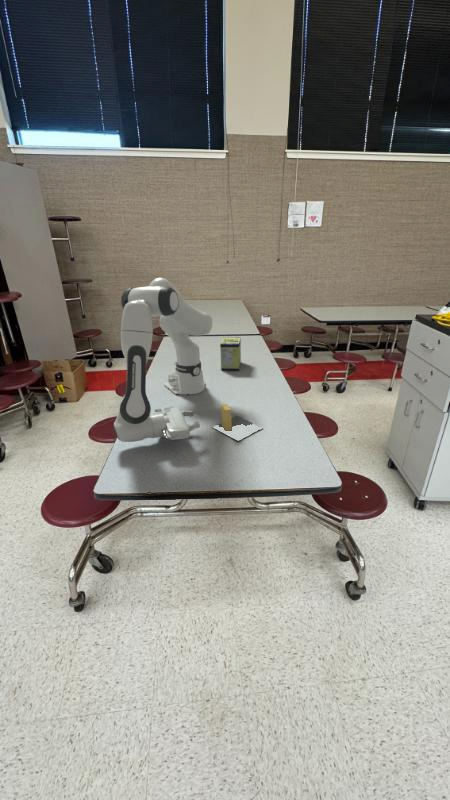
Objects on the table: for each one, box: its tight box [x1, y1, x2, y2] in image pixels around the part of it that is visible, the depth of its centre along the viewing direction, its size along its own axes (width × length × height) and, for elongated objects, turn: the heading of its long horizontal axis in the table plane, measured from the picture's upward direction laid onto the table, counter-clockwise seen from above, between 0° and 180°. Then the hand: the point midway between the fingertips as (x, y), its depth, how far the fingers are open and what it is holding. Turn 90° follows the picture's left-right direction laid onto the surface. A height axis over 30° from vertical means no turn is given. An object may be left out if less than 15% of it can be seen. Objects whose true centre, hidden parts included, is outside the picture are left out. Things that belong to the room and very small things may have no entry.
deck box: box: [220, 403, 232, 431], centre depth 140 cm, size 2×5×10 cm, turn 18°
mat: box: [216, 414, 254, 427], centre depth 143 cm, size 15×14×1 cm
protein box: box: [219, 336, 242, 372], centre depth 205 cm, size 10×16×16 cm
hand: (196, 418), depth 136 cm, fingers open, 8 cm apart
